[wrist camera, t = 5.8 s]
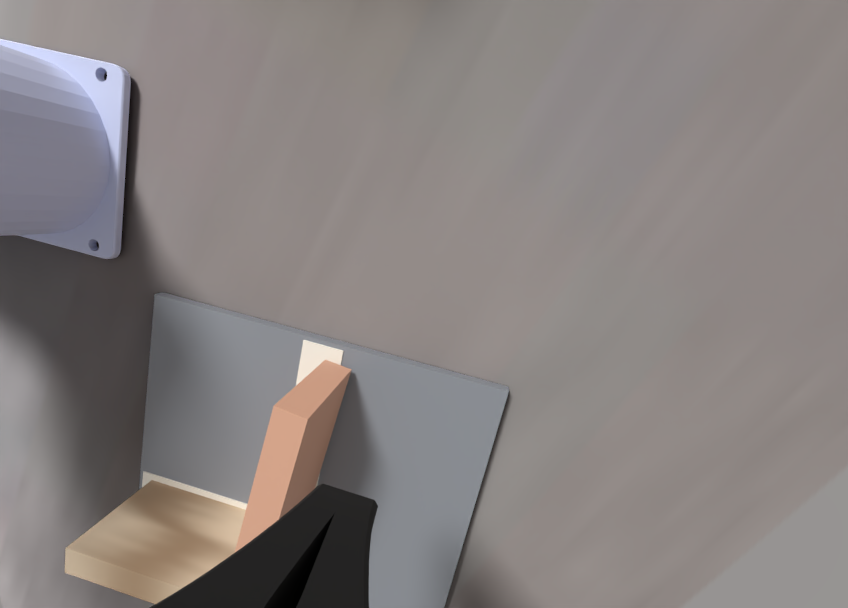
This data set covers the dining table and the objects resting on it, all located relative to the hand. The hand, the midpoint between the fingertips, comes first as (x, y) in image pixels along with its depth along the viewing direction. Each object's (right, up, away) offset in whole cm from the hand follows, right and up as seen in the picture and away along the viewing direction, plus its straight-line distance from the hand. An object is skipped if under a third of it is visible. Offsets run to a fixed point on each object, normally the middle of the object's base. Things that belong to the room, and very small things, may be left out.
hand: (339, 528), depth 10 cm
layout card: (-4, -3, +11) cm, 12 cm away
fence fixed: (-8, -5, +11) cm, 15 cm away
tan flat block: (-3, -1, +10) cm, 10 cm away
